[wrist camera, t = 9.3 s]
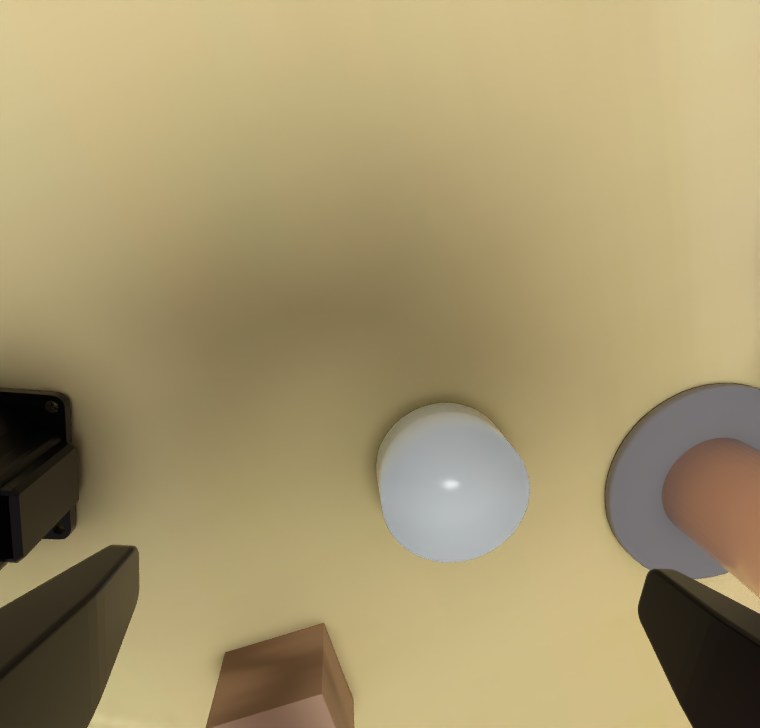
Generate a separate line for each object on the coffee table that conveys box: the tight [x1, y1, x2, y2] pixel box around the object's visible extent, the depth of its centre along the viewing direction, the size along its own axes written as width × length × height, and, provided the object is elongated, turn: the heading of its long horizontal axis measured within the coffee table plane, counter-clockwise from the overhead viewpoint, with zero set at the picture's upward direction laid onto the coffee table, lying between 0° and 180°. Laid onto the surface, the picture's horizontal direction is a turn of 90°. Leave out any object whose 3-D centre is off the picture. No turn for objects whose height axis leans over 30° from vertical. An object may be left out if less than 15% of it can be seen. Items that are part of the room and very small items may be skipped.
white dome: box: [376, 403, 530, 562], centre depth 21 cm, size 6×6×3 cm
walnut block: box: [206, 623, 354, 728], centre depth 23 cm, size 5×5×4 cm
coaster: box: [605, 383, 760, 579], centre depth 24 cm, size 10×10×1 cm
